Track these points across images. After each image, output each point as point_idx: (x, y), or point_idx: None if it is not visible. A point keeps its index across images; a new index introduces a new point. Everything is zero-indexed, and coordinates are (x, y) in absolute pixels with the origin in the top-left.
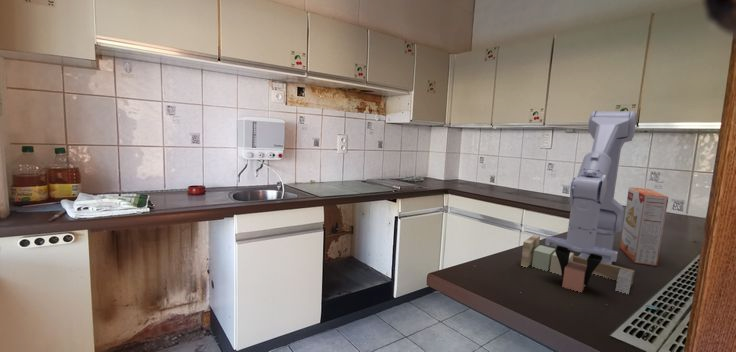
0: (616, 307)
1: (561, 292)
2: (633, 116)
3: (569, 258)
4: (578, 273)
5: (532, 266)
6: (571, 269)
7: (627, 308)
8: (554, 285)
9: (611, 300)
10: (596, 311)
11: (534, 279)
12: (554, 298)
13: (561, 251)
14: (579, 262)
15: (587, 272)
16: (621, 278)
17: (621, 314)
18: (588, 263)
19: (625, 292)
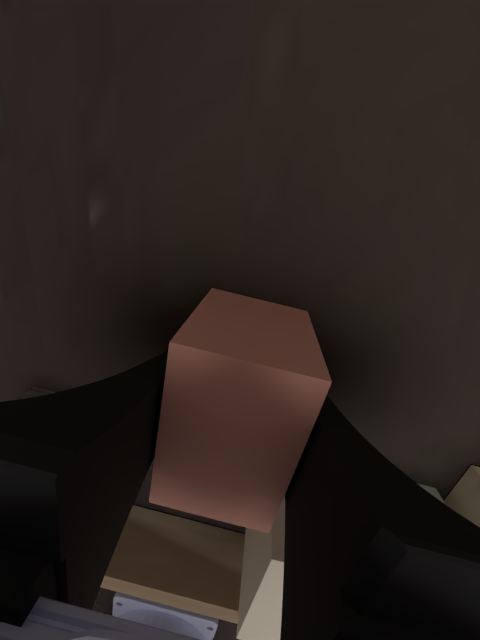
0: (50, 199)
1: (320, 226)
2: None
3: (268, 569)
4: (218, 342)
5: (434, 491)
6: (274, 366)
7: (9, 223)
8: (348, 311)
9: (80, 280)
10: (130, 38)
11: (461, 335)
12: (383, 75)
13: (439, 609)
14: (212, 573)
15: (150, 379)
16: None
17: (16, 107)
18: (96, 424)
19: (38, 393)
